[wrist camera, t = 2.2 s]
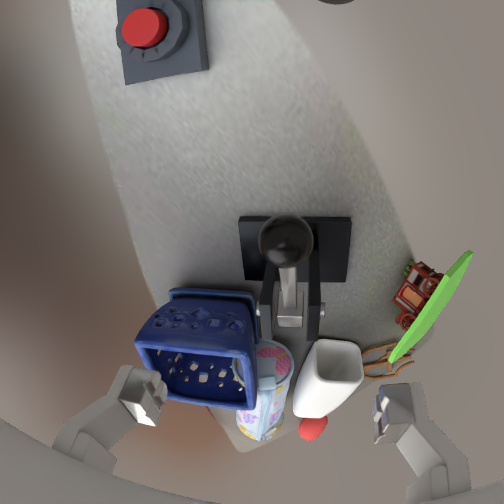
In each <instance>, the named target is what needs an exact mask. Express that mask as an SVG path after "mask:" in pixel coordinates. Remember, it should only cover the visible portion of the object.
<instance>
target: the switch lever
mask: <svg viewBox="0 0 504 504" xmlns="http://www.w3.org/2000/svg"><path fill="white" fill-rule="evenodd" d="M313 242H314V240H313V234H312V231H311V228H310V227H309V225H308V224H307V223H306V222H305V221H304V220H303V219H302V218H300V217H299V216H297V215H294V214H289V213H283V214H278V215H275V216H273V217H271V218H270V219H268V220H267V221H266V222H265V223H264V225H263V226H262V228H261V230H260V233H259V237H258V245H259V249H260V252H261V254H262V256H263V257H264V259H265V260H266V261H267V262H268V263H270V264H271V265H273V266H275V267H278V268H279V274H280V281H281V289H282V291H279V292H278V306H277V320H278V325H279V326H282V327H303V306H304V292H303V291H297V266H299V265H301V264H302V263H303V262H305V261H306V260H307V258H308V257H309V255H310V254H311V251H312V249H313Z"/></svg>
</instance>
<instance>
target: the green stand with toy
mask: <svg viewBox="0 0 504 504" xmlns="http://www.w3.org/2000/svg"><path fill="white" fill-rule="evenodd" d="M472 256H473V252H472V251H470V250H469V251H467V252H465V253H464V254H463V255H462V256H461V257H460V258H459V260H458V261H457V262H456V263H455V264H454V265H453V266H452V267H451V268H450V270H449V271H448V272H447V273H446V274H445V275H444V274H442V273H438V274H437V273H436V272H435V271H434V269H431V268H430V267H428V266H427V265H425V264H424V263H423V262H422V261H421V262H420V263H417V264H415V263H414V262H412V261H410V262H409V264H410V265H411V266H407V267H406V269H407V270H408V271H409V272H407V271H405V270H404V272H403V273H404V275H406V276H407V277H406V278H405V280H404V282H403V284H402V285H401V287H400V288H399V290H398V292H397V293H396V294H395V297H394V298H393V299H392V301H393V302H394V303H395V304H396V305H398V306H399V307H400V308H401V309H402V310H401V311H400V312H399V314H398V315H397V317H396V318H395V322H396V323H397V324H399V322H400V325H401V327H402V329H403V330H404V331H406V334H405V335H404V336H403V338H402V339H401V340H400V342H399V343H398V344H397V346H396V347H395V348H394V350H393V351H392V353H391V355H390V357H389V359H388V361H389V362H390V363H391V364H392V363H394V362H395V361H396V360H398V359H399V358H400V357H402V356H403V355H404V354H405V353H406V352H407V351H408V350H409V349H410V348H411V347H412V346H413V345H415V344H416V343H417V342H418V341H419V340H420V339H421V338H422V337H423V335H424V334H425V333H426V332H427V331H428V329H429V328H430V327H431V325H432V324H433V323H434V321H435V320H436V318H437V317H438V315H439V314H440V312H441V311H442V310H443V308H444V307H445V305H446V304H447V302H448V301H449V299H450V298H451V296H452V294H453V293H454V291H455V290H456V288H457V286H458V284H459V283H460V281H461V279H462V277H463V276H464V273H465V271H466V269H467V267H468V265H469V263H470V260H471V258H472ZM406 317H407V318H406ZM403 319H405V320H406V321H407V322H406V321H405V320H403ZM404 323H406V324H405V326H406V327H408V326H409V329H407V328H406V327H405V326H404V325H403V324H404ZM412 323H413V324H412ZM410 325H411V327H410Z"/></svg>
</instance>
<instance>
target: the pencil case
mask: <svg viewBox="0 0 504 504" xmlns="http://www.w3.org/2000/svg"><path fill="white" fill-rule="evenodd" d="M258 339H259V344H258V345H256V344H255V345H256V359H257V402H256V407H255V409H254V410H251V411H247V410H237V412H236V420H237V424H238V427H239V428H240V430H241V431H242V432H243V433H244V434H246V435H247V436H249V437H251V438H252V439H255V440H258V441H261V440H262V439H263V440H264V439H266V440H269V438H271V437H273V436H274V435H275V434H276V433H277V431H278V430H279V429H280V427H281V425H282V423H283V419H284V413H283V410H284V407H285V402H286V396H287V392H288V389H289V384H290V379H291V377H292V374H293V371H294V359H293V356H292V354H291V352H290V351H289V350H288V348H286V347H285V346H284V345H282V344H281V343H279V342H276V341H274V340H268V339H262V338H258ZM232 370H233V373H234V375H235V381H239V383H240V384H241V385H242V386H243V387H245V385H244V376H243V370H242V365H241V362H240V359H239V358H235V357H233V360H232ZM241 390H242V388H240V389H239V391H241Z"/></svg>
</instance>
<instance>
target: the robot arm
mask: <svg viewBox="0 0 504 504" xmlns="http://www.w3.org/2000/svg"><path fill="white" fill-rule="evenodd" d="M166 398H167V386H166V384H165V382H164V381H162V380H161V374H160V372H159V371H156V370H150V369H144V368H139V367H135V366H130V365H122V366H121V367H120V369H119V371H118V373H117V375H116V377H115V379H114V381H113V383H112V385H111V387H110V389H109V391H108V393H107V395H106V396H102V397H101V398H99V399H98V400H96V401H95V402H93V403H92V404H91V405H89V406H88V407H86V408H85V409H83V410H82V411H80V412H79V413H77V414H76V415H74V416H73V417H71V418H70V419H68V420H67V421H65V422H64V423H63V425H62V427H61V429H60V431H59V433H58V435H57V437H56V439H55V441H54V443H53V446H52V448H51V447H49V446H47V445H45V444H43V443H41V442H39V441H38V440H36V439H34V438H32V437H30V436H29V435H27V434H25V433H24V432H22V431H20V430H19V429H17V428H15V427H13V426H12V425H10V424H9V423H7V422H6V421H4V420H2V419H0V504H219V503H213V502H208V501H202V500H198V499H193V498H189V497H184V496H180V495H176V494H172V493H168V492H164V491H160V490H157V489H154V488H150V487H147V486H144V485H140V484H137V483H134V482H131V481H128V480H125V479H123V478H119V477H117V476H114V475H112V472H113V470H114V467H115V464H116V461H117V459H116V457H115V456H114V455H113V454H111V453H110V452H109V451H108V450H109V449H110V448H111V447H112V446H113V445H114V444H116V443H117V442H118V441H119V440H120V439H121V438H122V437H124V436H125V435H126V434H127V433H128V432H129V431H130V430H131V429H132V428H134V427H135V426H136V425H137V424H138V423H142V424H147V425H151V426H157V423H158V420H159V418H160V415H161V411H160V407H161V406H162V405H163V404H165V401H166ZM373 419H374V420H375V421H376V423H377V425H376V426H375V428H374V439H375V444H392V443H396V445H397V447H398V448H399V450H400V451H401V453H402V454H403V455H404V457H405V458H406V460H407V461H408V463H409V464H410V466H411V467H412V469H413V470H414V472H415V473H416V474H417V476H418V477H419V478H418V479H417V480H415V481H414V482H412V483H411V484H410V485H409V486H408V487H407V488H406V496H407V504H504V479H502V480H500V481H497V482H494V483H491V484H489V485H485V486H483V487H479V488H476V489H473V490H471V481H470V473H469V465H468V459H467V458H466V457H465V455H464V454H463V453H462V452H461V451H460V450H459V449H458V448H457V447H456V445H455V444H454V443H453V442H452V441H451V440H450V439H449V438H448V437H447V436H446V434H445V433H444V432H443V431H442V430H441V429H440V428H439V427H438V426H437V425H436V424H435V422H434V421H429V416H428V411H427V405H426V400H425V395H424V390H423V386H422V384H421V383H420V382H413V383H399V384H387V385H381V386H380V388H379V394H378V395H377V396H376V397H375V400H374V405H373ZM137 422H138V423H137Z"/></svg>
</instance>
